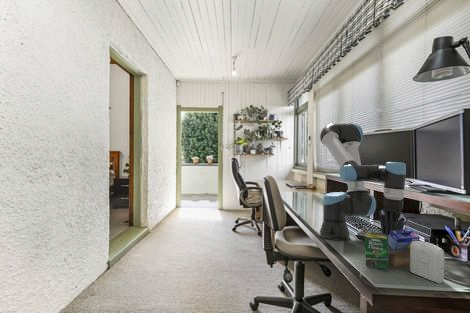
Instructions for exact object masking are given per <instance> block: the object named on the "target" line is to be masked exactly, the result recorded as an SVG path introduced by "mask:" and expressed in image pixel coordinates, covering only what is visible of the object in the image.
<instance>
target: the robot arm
mask: <svg viewBox="0 0 470 313" xmlns="http://www.w3.org/2000/svg"><path fill="white" fill-rule="evenodd" d="M319 139H320V142H321V144H322V146H323V147H326V148H327V149H328V152H330V154H331V155H332V157H333V158H334V160H335V161H336V162H335V163H337V164H338V167H340V168H339V170H338V171H339V177H340V179H341V181H344V182H347V184H346V185H347V190H346V192H343V191H339V192H336V191H333V192H329V193H325V194H324V195H323V198H322V224H321V225H320V226H321V227H320V229H319V236H320V237H321V238H323V239H327V240H331V241H348V240H349V239H351V238H350V236H351V233H350V231H349V227H348V224H347V218H349V217H350V218H352V217H354V218H357V217H358V218H359V217H360V218H364V217H371V216H373V215H374V214H375V211H376V208H377V200H376V198H375V197H374V195H372V194H371V193H370V191H369V190H368V189H367V188H366V186H365V185H366V184H365V182H381V183H383V186H384V187H383V196H384V197H383V198H382V205H383V208H382V209H381V210H377V214H378V216H379V222H380V228H381V234H387V235H388V236H389V233H390V231H391V230H404V227H405V224H406V223H407V221H408V220H409V218H408V217H405V215H403V214H404V213H403V209H404V198H405V187H406V178H407V176H406V175H407V165H406V163H405V162H399V161H398V162H396V161H387V162H386V163H385V165H381V164H372V165H370V164H362V163H361V156H360V152H359V147H360V145H361V143H362V142H363V139H364V132H363V129H362V127H361V126H360V125H359V124H357V123H330V124H327V125H325V126H324V127H323V128H322V129H321V132H320V135H319Z"/></svg>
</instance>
